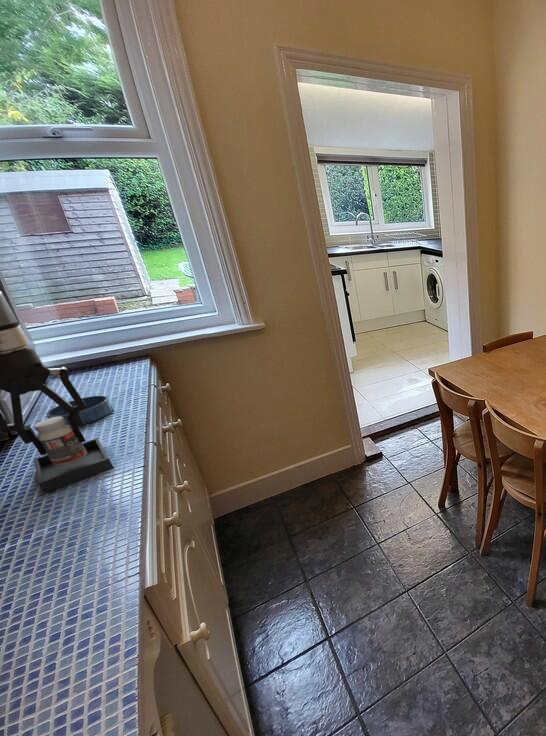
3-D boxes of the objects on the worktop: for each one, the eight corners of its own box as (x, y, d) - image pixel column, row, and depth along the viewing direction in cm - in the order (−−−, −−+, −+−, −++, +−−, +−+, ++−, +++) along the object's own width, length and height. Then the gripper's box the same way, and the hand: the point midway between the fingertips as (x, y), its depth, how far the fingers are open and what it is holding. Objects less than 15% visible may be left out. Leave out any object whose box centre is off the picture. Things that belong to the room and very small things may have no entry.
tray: (39, 468, 96) (33, 459, 95) (102, 446, 104) (97, 437, 102) (45, 493, 87) (38, 483, 86) (113, 467, 94) (108, 458, 93)
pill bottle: (85, 460, 93) (62, 422, 89) (50, 469, 91) (25, 431, 86) (90, 449, 98) (69, 412, 94) (57, 457, 95) (34, 420, 91)
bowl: (55, 433, 111) (47, 421, 109) (52, 420, 119) (44, 408, 117) (116, 415, 120) (110, 402, 118) (109, 403, 128) (103, 391, 126)
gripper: (-72, 369, 74) (1, 473, 84) (70, 340, 87) (120, 433, 97) (-68, 360, 79) (2, 460, 89) (66, 334, 92) (114, 424, 101)
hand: (63, 446), depth 93 cm, fingers closed on pill bottle, 6 cm apart
